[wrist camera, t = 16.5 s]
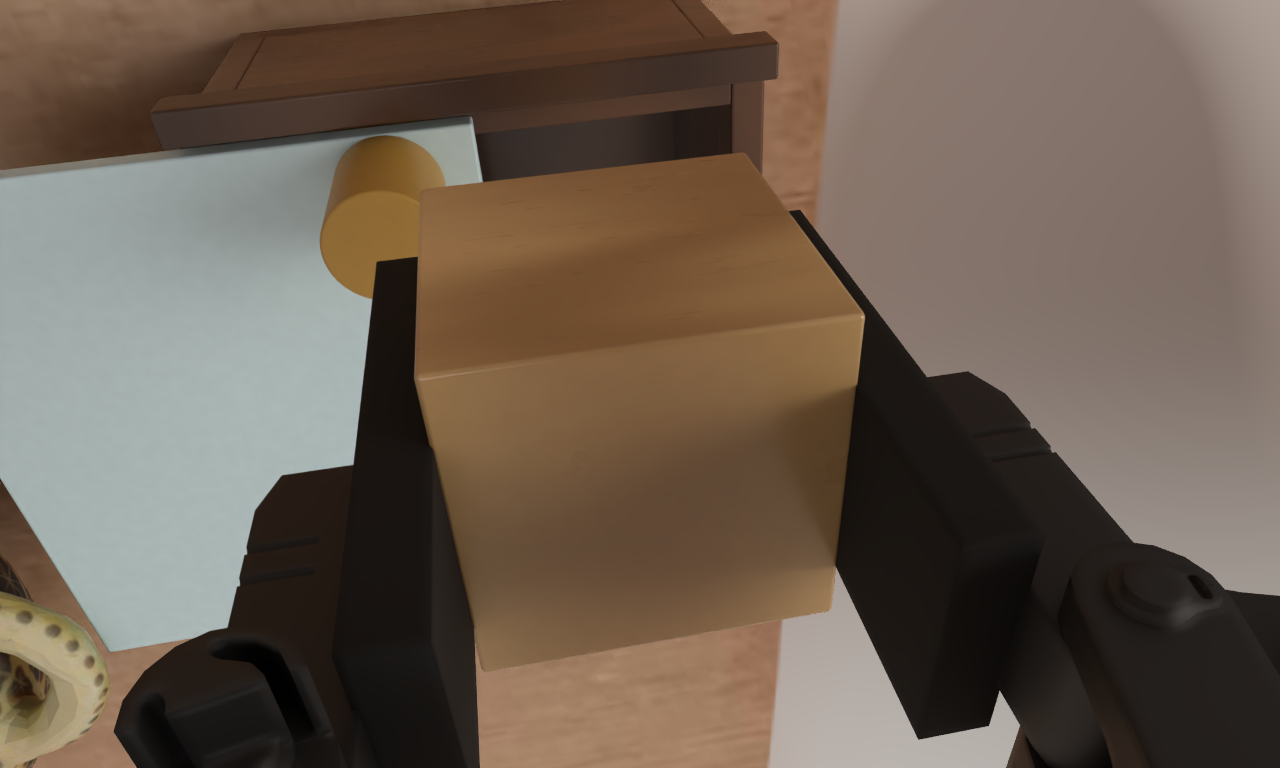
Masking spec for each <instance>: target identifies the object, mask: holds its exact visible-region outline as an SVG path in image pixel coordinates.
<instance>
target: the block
mask: <svg viewBox="0 0 1280 768" xmlns="http://www.w3.org/2000/svg"><path fill="white" fill-rule="evenodd" d="M864 321H865V315H864V312H863V311H862V310H861V308H860V307H859V306H858V304H857V303H856V302H855V300H854V299H853V298H852V296H851V295H850V294H849V292H848V291H847V290H846V288H845V287H844V285H843V284H842V283H841V281H840V280H839V279H838V277H837V276H836V275H835V273H834V272H833V271H832V269H831V268H830V267H829V265H828V264H827V263H826V261H825V260H824V259H823V257H822V256H821V255H820V253H819V252H818V250H817V249H816V248H815V246H814V245H813V244H812V242H811V241H810V240H809V238H808V237H807V236H806V234H805V233H804V232H803V230H802V229H801V228H800V226H799V225H798V224H797V222H796V221H795V220H794V218H793V217H792V215H791V214H790V213H789V211H788V210H787V209H786V207H785V206H784V205H783V203H782V202H781V201H780V199H779V198H778V197H777V195H776V194H775V193H774V191H773V190H772V189H771V187H770V186H769V185H768V183H767V182H766V180H765V179H764V178H763V176H762V175H761V174H760V172H759V171H758V170H757V168H756V167H755V166H754V164H753V163H752V162H751V160H750V159H749V158H748V156H747V155H746V154H745V153H733V154H724V155H716V156H707V157H698V158H689V159H681V160H672V161H663V162H654V163H646V164H637V165H628V166H620V167H611V168H602V169H593V170H585V171H576V172H567V173H558V174H550V175H541V176H532V177H524V178H515V179H506V180H497V181H489V182H480V183H471V184H462V185H454V186H445V187H436V188H427V189H423V190H421V192H420V208H419V239H418V270H417V302H416V333H415V365H414V381H415V385H416V389H417V394H418V398H419V402H420V407H421V411H422V415H423V419H424V424H425V428H426V432H427V437H428V441H429V445H430V446H431V448H432V449H433V453H434V457H435V462H436V466H437V470H438V475H439V479H440V483H441V488H442V492H443V496H444V501H445V505H446V509H447V514H448V518H449V522H450V527H451V531H452V535H453V540H454V544H455V548H456V553H457V557H458V561H459V566H460V570H461V574H462V579H463V583H464V587H465V592H466V596H467V600H468V605H469V609H470V613H471V618H472V622H473V626H474V639H475V643H476V647H477V652H478V656H479V660H480V664H481V668H482V670H483V671H484V672H492V671H497V670H503V669H509V668H514V667H520V666H525V665H531V664H537V663H542V662H548V661H553V660H559V659H565V658H570V657H576V656H581V655H587V654H593V653H598V652H604V651H609V650H615V649H620V648H626V647H632V646H637V645H643V644H648V643H654V642H660V641H665V640H671V639H676V638H682V637H688V636H693V635H699V634H704V633H710V632H716V631H721V630H727V629H732V628H738V627H744V626H749V625H755V624H760V623H766V622H772V621H777V620H783V619H788V618H794V617H799V616H805V615H810V614H816V613H822V612H827V611H829V610H831V607H832V599H833V590H834V582H835V573H836V558H837V550H838V541H839V532H840V524H841V515H842V506H843V497H844V489H845V480H846V471H847V462H848V454H849V445H850V436H851V427H852V419H853V410H854V401H855V393H856V385H857V382H858V374H859V365H860V356H861V347H862V339H863V330H864Z"/></svg>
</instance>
